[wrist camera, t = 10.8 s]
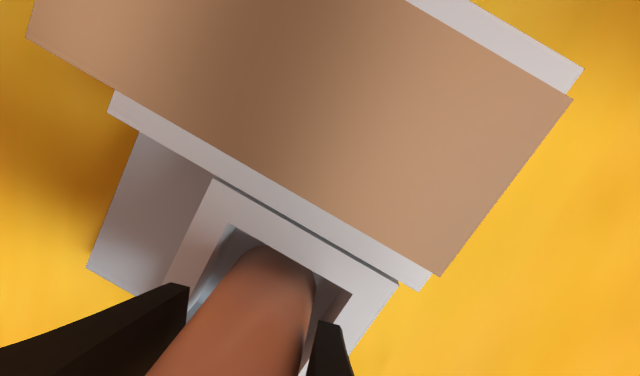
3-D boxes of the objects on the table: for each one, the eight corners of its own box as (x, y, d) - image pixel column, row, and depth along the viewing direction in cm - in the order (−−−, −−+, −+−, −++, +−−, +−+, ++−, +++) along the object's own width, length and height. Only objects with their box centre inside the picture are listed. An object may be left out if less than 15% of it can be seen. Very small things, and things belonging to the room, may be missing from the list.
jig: (527, 80, 10) (584, 68, 8) (316, 381, 13) (306, 442, 11) (242, -87, 10) (203, -156, 7) (101, 258, 13) (41, 292, 11)
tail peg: (333, 285, 11) (310, 482, 5) (278, 338, 12) (202, 569, 6) (266, 227, 11) (159, 363, 5) (214, 286, 12) (65, 468, 6)
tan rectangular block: (461, 108, 10) (573, 99, 5) (400, 200, 11) (440, 277, 6) (228, -28, 10) (86, -188, 5) (185, 76, 10) (24, 37, 5)
